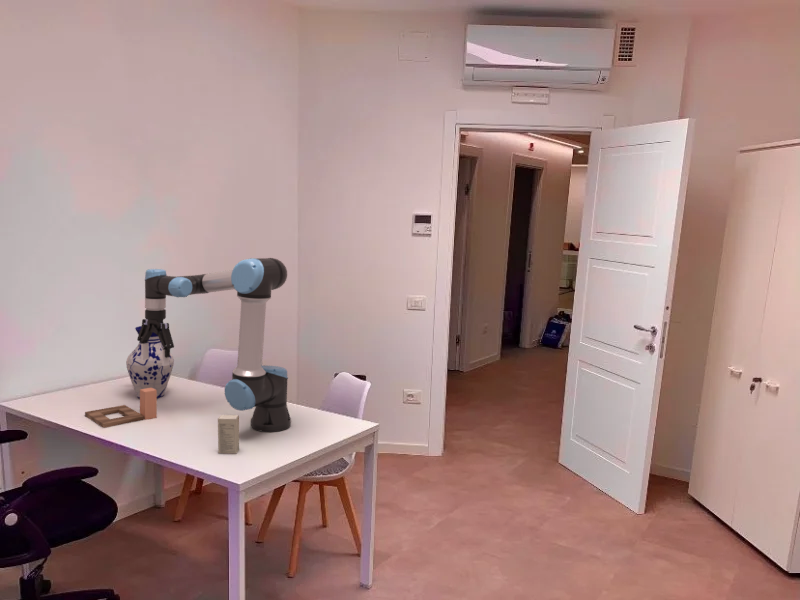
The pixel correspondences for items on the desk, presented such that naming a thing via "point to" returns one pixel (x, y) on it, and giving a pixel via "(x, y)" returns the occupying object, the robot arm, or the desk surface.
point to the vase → (149, 367)
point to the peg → (148, 403)
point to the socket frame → (104, 421)
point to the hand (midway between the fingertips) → (155, 362)
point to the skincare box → (228, 434)
